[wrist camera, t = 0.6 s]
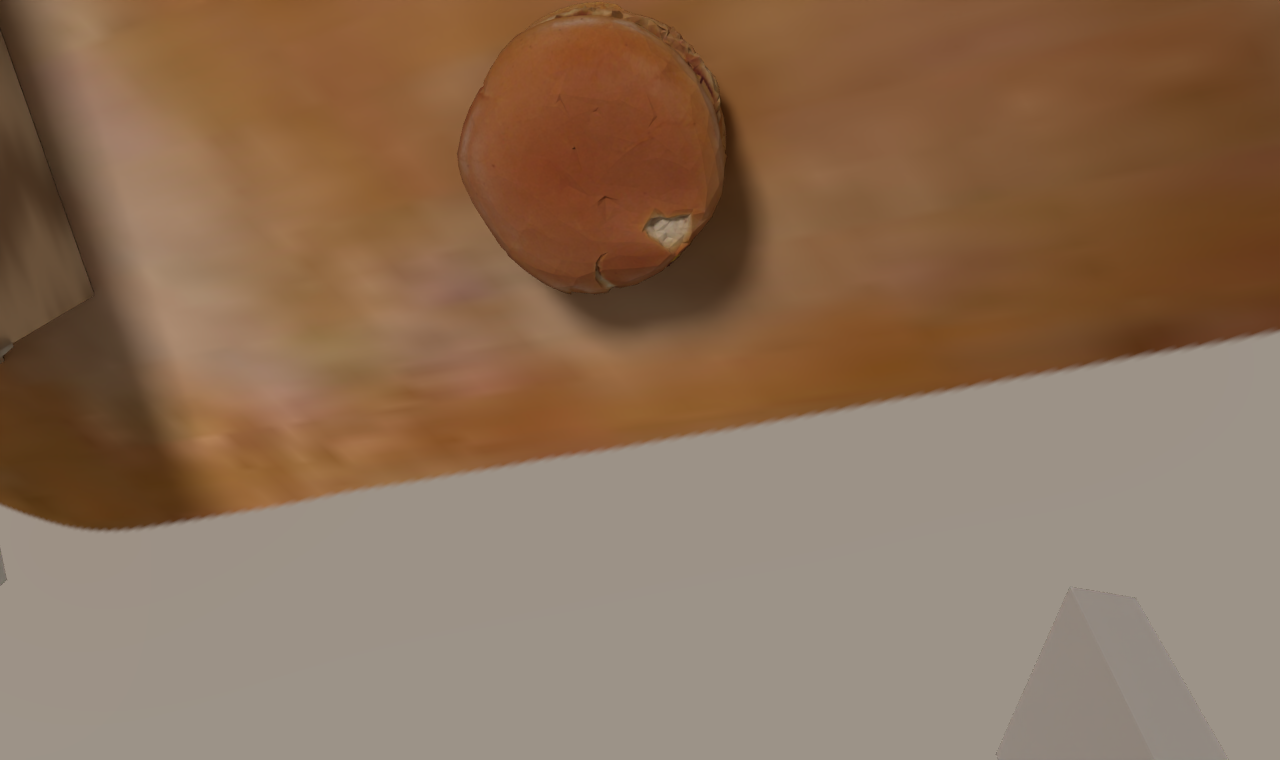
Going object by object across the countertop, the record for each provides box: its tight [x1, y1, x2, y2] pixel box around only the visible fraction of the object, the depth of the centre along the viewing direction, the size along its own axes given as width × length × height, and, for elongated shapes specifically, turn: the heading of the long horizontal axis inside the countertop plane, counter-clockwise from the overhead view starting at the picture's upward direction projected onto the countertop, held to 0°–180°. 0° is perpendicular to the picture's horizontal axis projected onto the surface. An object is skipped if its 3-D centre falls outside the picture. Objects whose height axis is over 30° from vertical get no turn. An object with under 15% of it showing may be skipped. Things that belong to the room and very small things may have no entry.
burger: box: [457, 2, 727, 294], centre depth 34 cm, size 10×9×5 cm
